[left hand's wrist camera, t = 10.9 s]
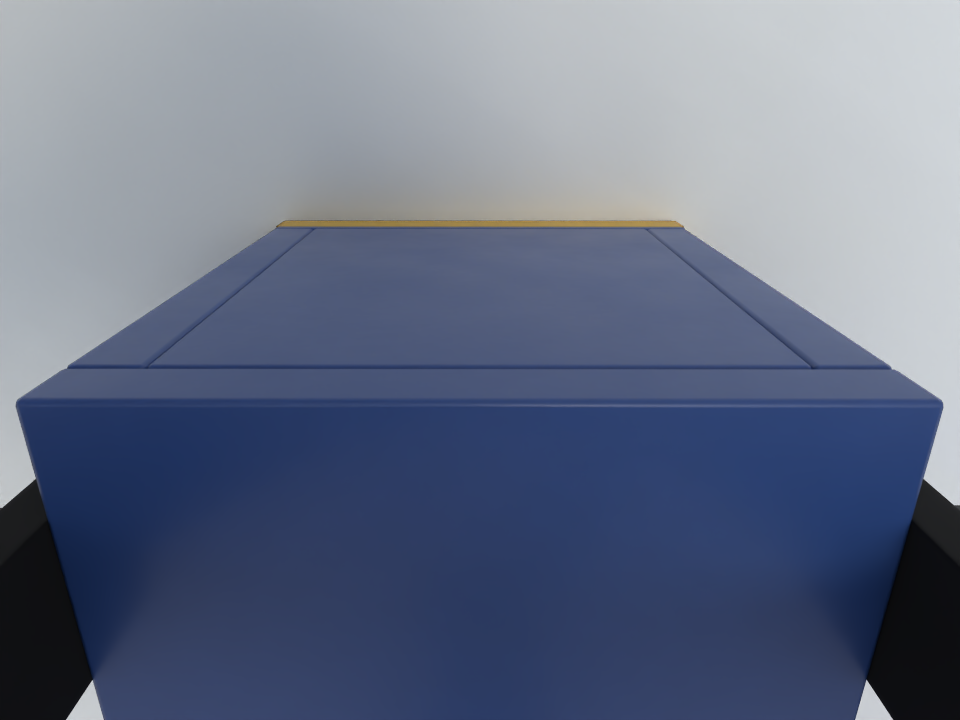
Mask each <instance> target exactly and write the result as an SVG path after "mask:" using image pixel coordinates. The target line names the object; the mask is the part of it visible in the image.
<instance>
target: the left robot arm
mask: <svg viewBox="0 0 960 720" xmlns="http://www.w3.org/2000/svg"><path fill="white" fill-rule="evenodd" d="M92 680H93V679H92V675H91V672H90V668H89V665H88V661H87V657H86V654H85V650H84V647H83V643H82V640H81V636H80V633H79V629H78V626H77V622H76V618H75V615H74V611H73V608H72V604H71V601H70V597H69V594H68V590H67V587H66V583H65V579H64V576H63V572H62V569H61V565H60V562H59V558H58V555H57V551H56V547H55V544H54V540H53V537H52V533H51V530H50V526H49V523H48V519H47V516H46V512H45V508H44V505H43V501H42V498H41V494H40V491H39V487H38V484H37V480H36V479H35V480H34V481H33V482H32V483H31V484H30V485H28V486H27V487H26V488H25V489H24V490H23V491H21V492H20V493H19V494H18V495H17V496H16V497H14V498H13V499H12V500H11V501H10V502H9V503H7V504H6V505H5V506H4V507H3V508H0V720H66V719H67V717H68V716H69V714H70V713H71V711H72V710H73V708H74V707H75V705H76V704H77V702H78V701H79V699H80V698H81V696H82V695H83V693H84V692H85V690H86V689H87V687H88V686H89V684H90V683H91V681H92ZM867 681H868V682H869V684H870V685H871V687H872V688H873V690H874V691H875V693H876V694H877V696H878V697H879V699H880V700H881V702H882V703H883V705H884V706H885V708H886V709H887V711H888V712H889V714H890V715H891V717H892V718H893V720H960V505H953V504H952V503H951V502H949V501H948V500H947V499H946V498H945V497H944V496H942V495H941V494H940V493H939V492H938V491H937V490H935V489H934V488H933V487H932V486H931V485H930V484H929V483H927V482H926V481H925V480H924V479H923V481H922V485H921V488H920V492H919V495H918V499H917V502H916V506H915V509H914V513H913V517H912V520H911V524H910V527H909V531H908V534H907V538H906V541H905V545H904V548H903V552H902V555H901V559H900V562H899V566H898V570H897V573H896V577H895V580H894V584H893V587H892V591H891V594H890V598H889V601H888V605H887V608H886V612H885V615H884V619H883V623H882V626H881V630H880V633H879V637H878V640H877V644H876V647H875V651H874V654H873V658H872V661H871V665H870V669H869V672H868V676H867Z"/></svg>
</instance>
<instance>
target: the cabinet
mask: <svg viewBox="0 0 960 720" xmlns="http://www.w3.org/2000/svg"><path fill="white" fill-rule="evenodd" d="M276 227H277V228H276V229H274V230H273V231H271V232H270V233H268V234H267V235H265V236H264V237H262V238H261V239H259V240H258V241H256V242H255V243H253V244H252V245H250V246H249V247H247V248H246V249H244V250H243V251H241V252H240V253H238V254H237V255H235V256H234V257H232V258H230V259H229V260H227V261H226V262H224V263H223V264H221V265H220V266H218V267H217V268H215V269H214V270H212V271H211V272H209V273H208V274H206V275H205V276H203V277H202V278H200V279H199V280H197V281H196V282H194V283H193V284H191V285H190V286H188V287H187V288H185V289H184V290H182V291H181V292H179V293H178V294H176V295H174V296H173V297H171V298H170V299H168V300H167V301H165V302H164V303H162V304H161V305H159V306H158V307H156V308H155V309H153V310H152V311H150V312H149V313H147V314H146V315H144V316H143V317H141V318H140V319H138V320H137V321H135V322H134V323H132V324H131V325H129V326H128V327H126V328H125V329H123V330H121V331H120V332H118V333H117V334H115V335H114V336H112V337H111V338H109V339H108V340H106V341H105V342H103V343H102V344H100V345H99V346H97V347H96V348H94V349H93V350H91V351H90V352H88V353H87V354H85V355H84V356H82V357H81V358H79V359H78V360H76V361H75V362H73V363H72V364H70V365H69V366H68V368H67V369H64V370H62V371H60V372H58V373H57V374H55V375H54V376H52V377H51V378H49V379H48V380H46V381H45V382H43V383H42V384H40V385H39V386H37V387H36V388H34V389H33V390H31V391H30V392H28V393H27V394H25V395H24V396H22V397H21V398H19V399H18V400H17V402H16V409H17V413H18V416H19V420H20V423H21V427H22V430H23V434H24V438H25V441H26V445H27V448H28V452H29V455H30V459H31V462H32V466H33V469H34V473H35V477H36V480H37V484H38V487H39V491H40V494H41V498H42V501H43V505H44V508H45V512H46V516H47V519H48V523H49V526H50V530H51V533H52V537H53V540H54V544H55V547H56V551H57V555H58V558H59V562H60V565H61V569H62V572H63V576H64V579H65V583H66V587H67V590H68V594H69V597H70V601H71V604H72V608H73V611H74V615H75V618H76V622H77V626H78V629H79V633H80V636H81V640H82V643H83V647H84V650H85V654H86V657H87V661H88V665H89V668H90V672H91V675H92V679H93V682H94V686H95V689H96V693H97V696H98V700H99V704H100V707H101V711H102V714H103V718H104V720H855V718H856V714H857V711H858V707H859V704H860V700H861V697H862V693H863V690H864V686H865V683H866V679H867V676H868V672H869V669H870V665H871V661H872V658H873V654H874V651H875V647H876V644H877V640H878V637H879V633H880V630H881V626H882V623H883V619H884V615H885V612H886V608H887V605H888V601H889V598H890V594H891V591H892V587H893V584H894V580H895V577H896V573H897V570H898V566H899V562H900V559H901V555H902V552H903V548H904V545H905V541H906V538H907V534H908V531H909V527H910V524H911V520H912V517H913V513H914V509H915V506H916V502H917V499H918V495H919V492H920V488H921V485H922V481H923V478H924V474H925V471H926V467H927V463H928V460H929V456H930V453H931V449H932V446H933V442H934V439H935V435H936V432H937V428H938V425H939V421H940V418H941V414H942V410H943V402H942V401H941V400H940V399H939V398H937V397H936V396H934V395H933V394H931V393H930V392H928V391H927V390H925V389H924V388H922V387H921V386H919V385H918V384H916V383H915V382H913V381H912V380H910V379H909V378H907V377H906V376H904V375H903V374H901V373H900V372H898V371H896V370H892V369H891V367H890V366H889V365H888V364H886V363H885V362H883V361H882V360H880V359H879V358H877V357H876V356H874V355H873V354H871V353H870V352H868V351H867V350H865V349H864V348H862V347H861V346H859V345H858V344H856V343H855V342H853V341H852V340H850V339H849V338H847V337H846V336H844V335H843V334H841V333H840V332H838V331H837V330H835V329H834V328H832V327H831V326H829V325H828V324H826V323H825V322H823V321H822V320H820V319H819V318H817V317H816V316H814V315H813V314H811V313H810V312H808V311H807V310H805V309H804V308H802V307H801V306H799V305H798V304H796V303H795V302H793V301H792V300H790V299H789V298H787V297H786V296H784V295H783V294H781V293H780V292H778V291H777V290H775V289H774V288H772V287H771V286H769V285H768V284H766V283H765V282H763V281H762V280H760V279H759V278H757V277H756V276H754V275H753V274H751V273H750V272H748V271H747V270H745V269H744V268H742V267H741V266H739V265H738V264H736V263H735V262H733V261H732V260H730V259H729V258H727V257H726V256H724V255H723V254H721V253H720V252H718V251H717V250H715V249H714V248H712V247H711V246H709V245H708V244H706V243H705V242H703V241H702V240H700V239H699V238H697V237H696V236H694V235H693V234H691V233H690V232H688V231H687V230H685V229H684V226H682V225H681V224H679V223H678V222H676V221H284V222H282V223H281V224H279V225H278V226H276Z"/></svg>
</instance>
